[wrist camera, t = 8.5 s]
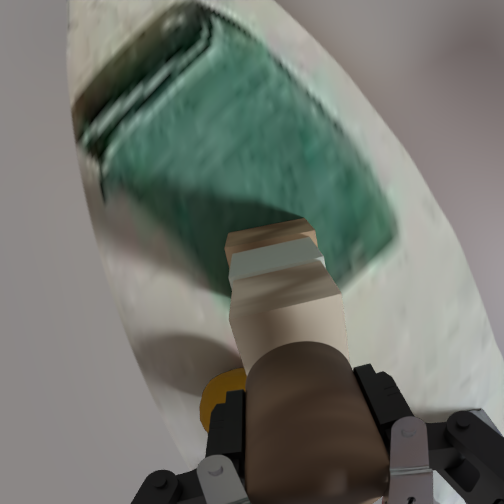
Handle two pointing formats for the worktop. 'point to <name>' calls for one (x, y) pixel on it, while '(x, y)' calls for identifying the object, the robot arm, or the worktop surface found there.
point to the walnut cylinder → (310, 430)
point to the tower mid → (273, 258)
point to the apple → (220, 392)
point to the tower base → (268, 236)
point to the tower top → (286, 311)
